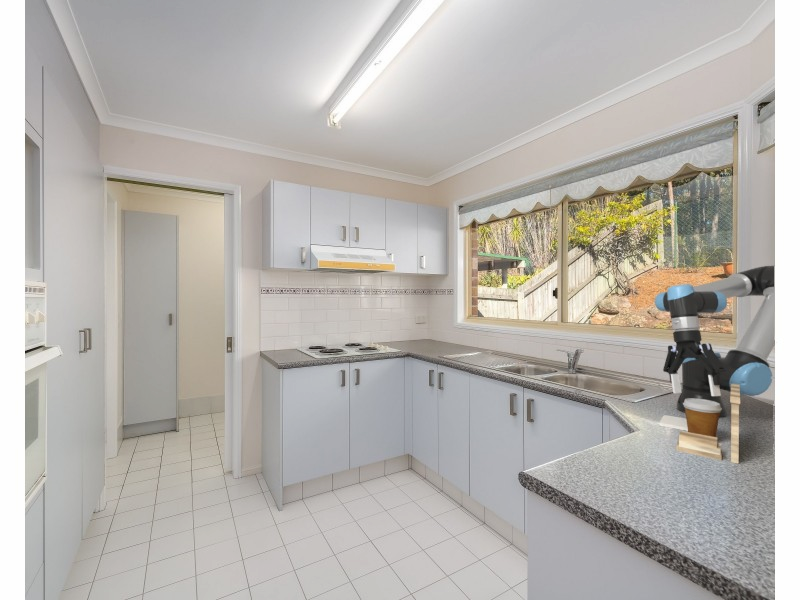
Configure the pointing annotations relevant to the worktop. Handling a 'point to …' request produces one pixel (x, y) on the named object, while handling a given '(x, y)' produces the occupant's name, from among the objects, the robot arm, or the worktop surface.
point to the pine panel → (735, 422)
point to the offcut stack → (699, 445)
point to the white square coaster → (674, 422)
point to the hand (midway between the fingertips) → (695, 394)
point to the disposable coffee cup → (702, 416)
